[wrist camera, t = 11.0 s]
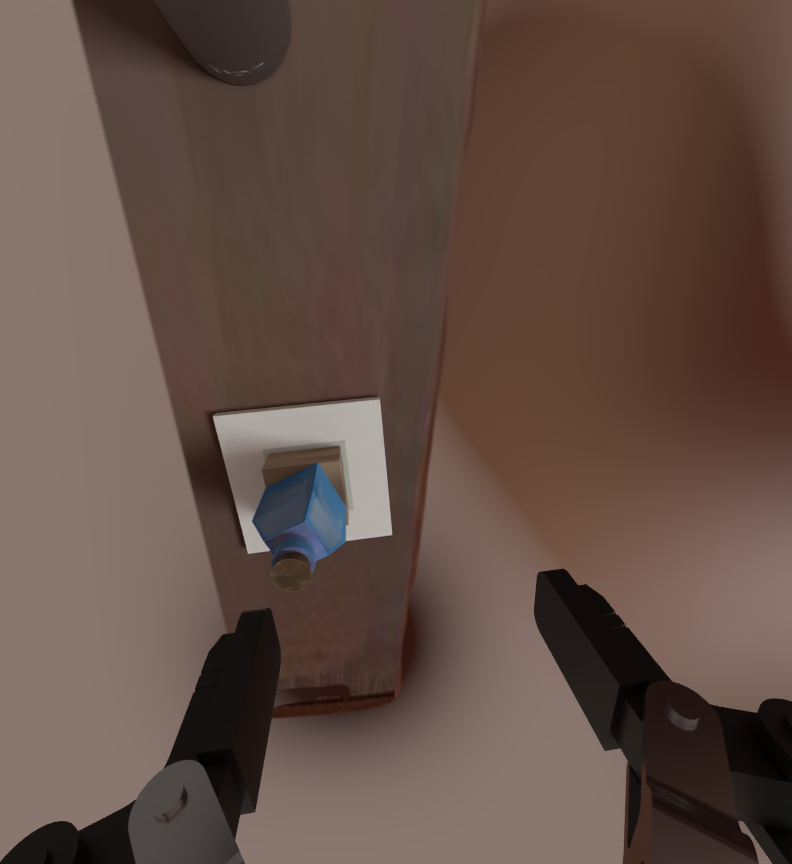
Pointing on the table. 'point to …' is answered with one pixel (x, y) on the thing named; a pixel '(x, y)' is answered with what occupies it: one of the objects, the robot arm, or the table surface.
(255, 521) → the perfume bottle
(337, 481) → the walnut block
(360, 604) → the table surface
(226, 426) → the build board
